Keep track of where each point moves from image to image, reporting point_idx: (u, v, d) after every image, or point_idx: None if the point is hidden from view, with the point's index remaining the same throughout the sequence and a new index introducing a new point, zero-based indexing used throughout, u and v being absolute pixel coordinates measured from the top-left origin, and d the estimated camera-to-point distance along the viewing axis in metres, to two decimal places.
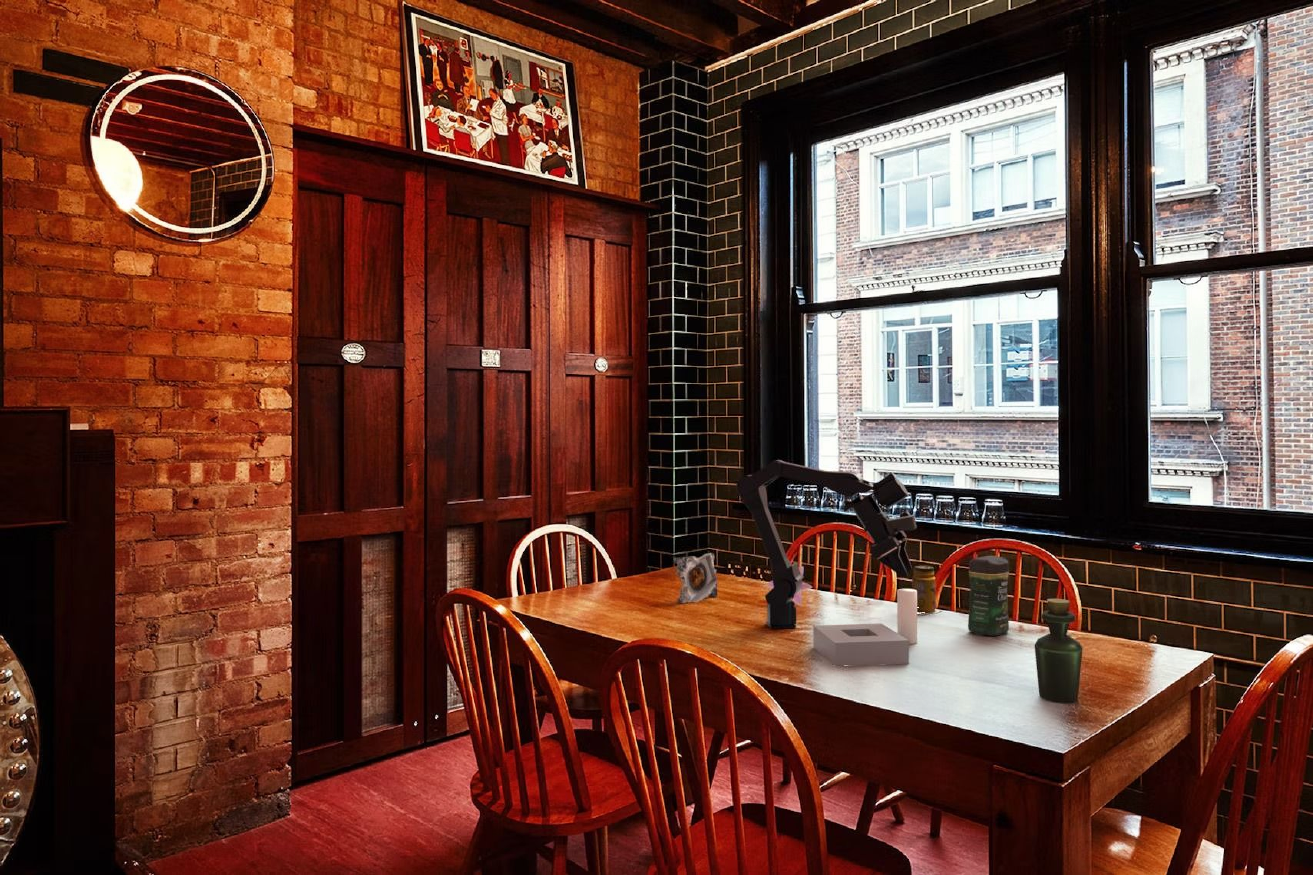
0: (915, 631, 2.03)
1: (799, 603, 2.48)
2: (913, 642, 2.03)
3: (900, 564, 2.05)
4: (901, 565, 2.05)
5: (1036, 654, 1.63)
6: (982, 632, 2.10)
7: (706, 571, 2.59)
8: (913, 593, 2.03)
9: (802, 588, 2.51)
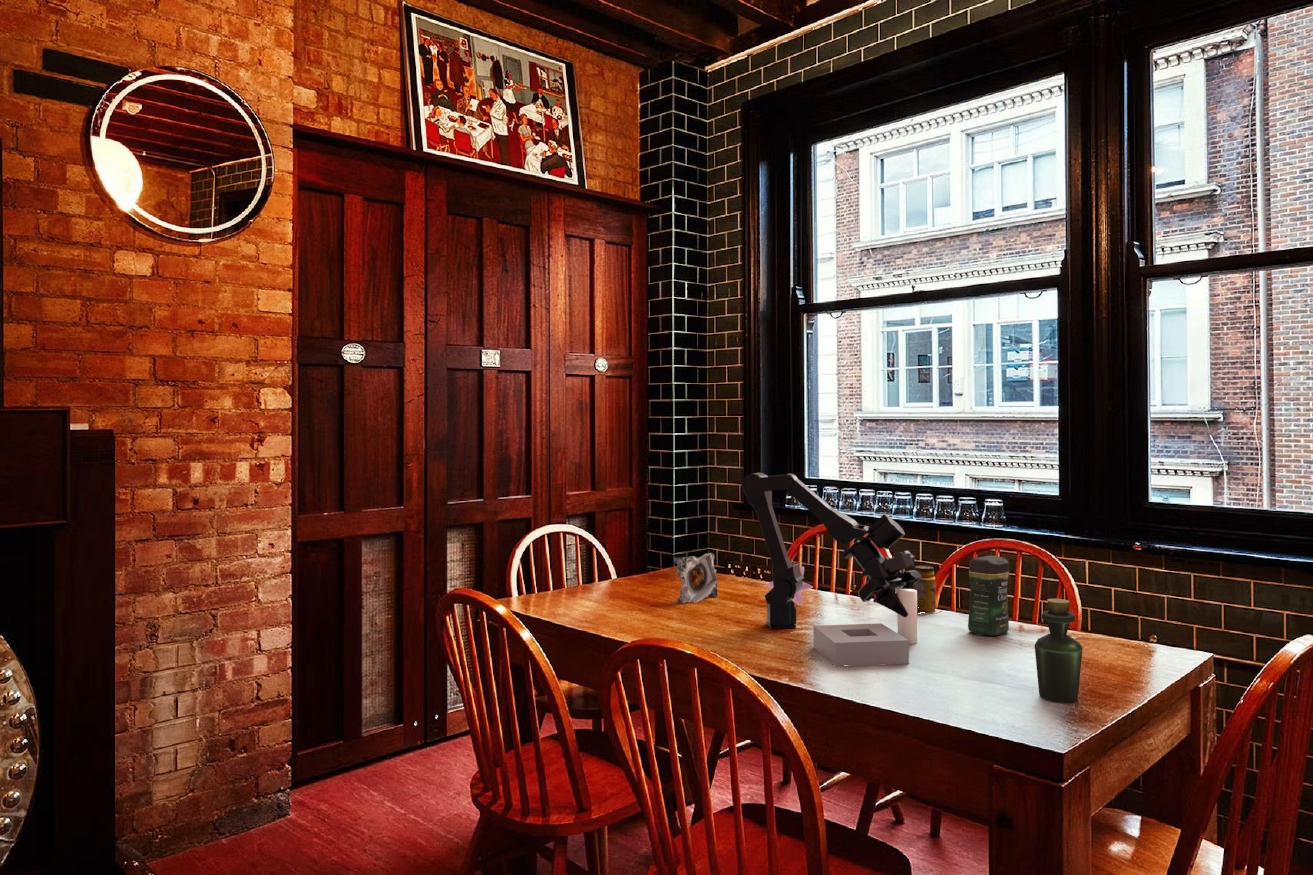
0: (915, 631, 2.03)
1: (800, 603, 2.47)
2: (913, 642, 2.03)
3: (897, 603, 2.03)
4: (898, 604, 2.03)
5: (1036, 654, 1.63)
6: (982, 632, 2.10)
7: (706, 571, 2.59)
8: (913, 593, 2.03)
9: (803, 588, 2.50)
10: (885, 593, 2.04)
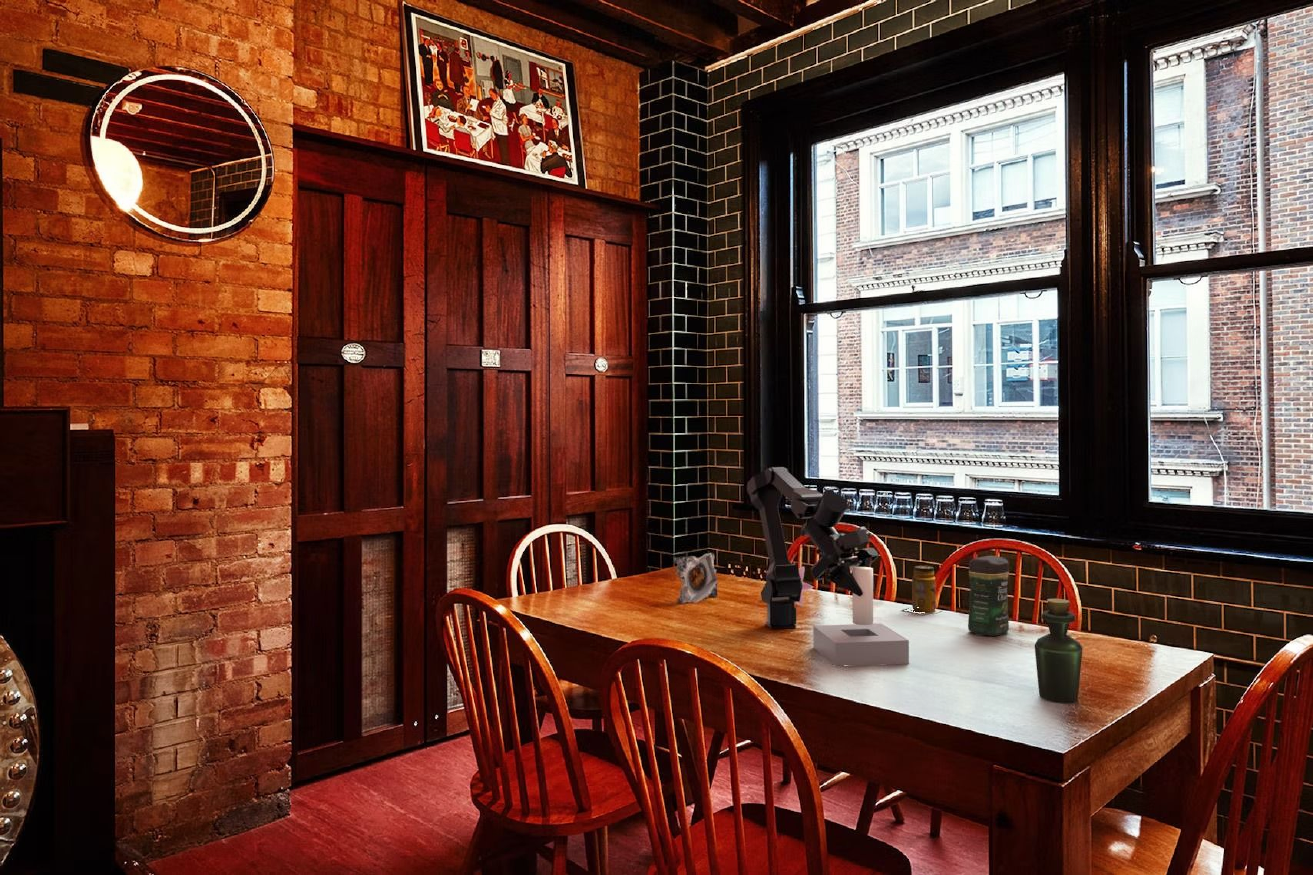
0: (871, 611, 1.92)
1: (800, 603, 2.47)
2: (869, 623, 1.92)
3: (851, 582, 1.92)
4: (852, 582, 1.92)
5: (1036, 654, 1.63)
6: (982, 632, 2.10)
7: (706, 571, 2.59)
8: (869, 571, 1.92)
9: (803, 588, 2.50)
10: (839, 571, 1.93)
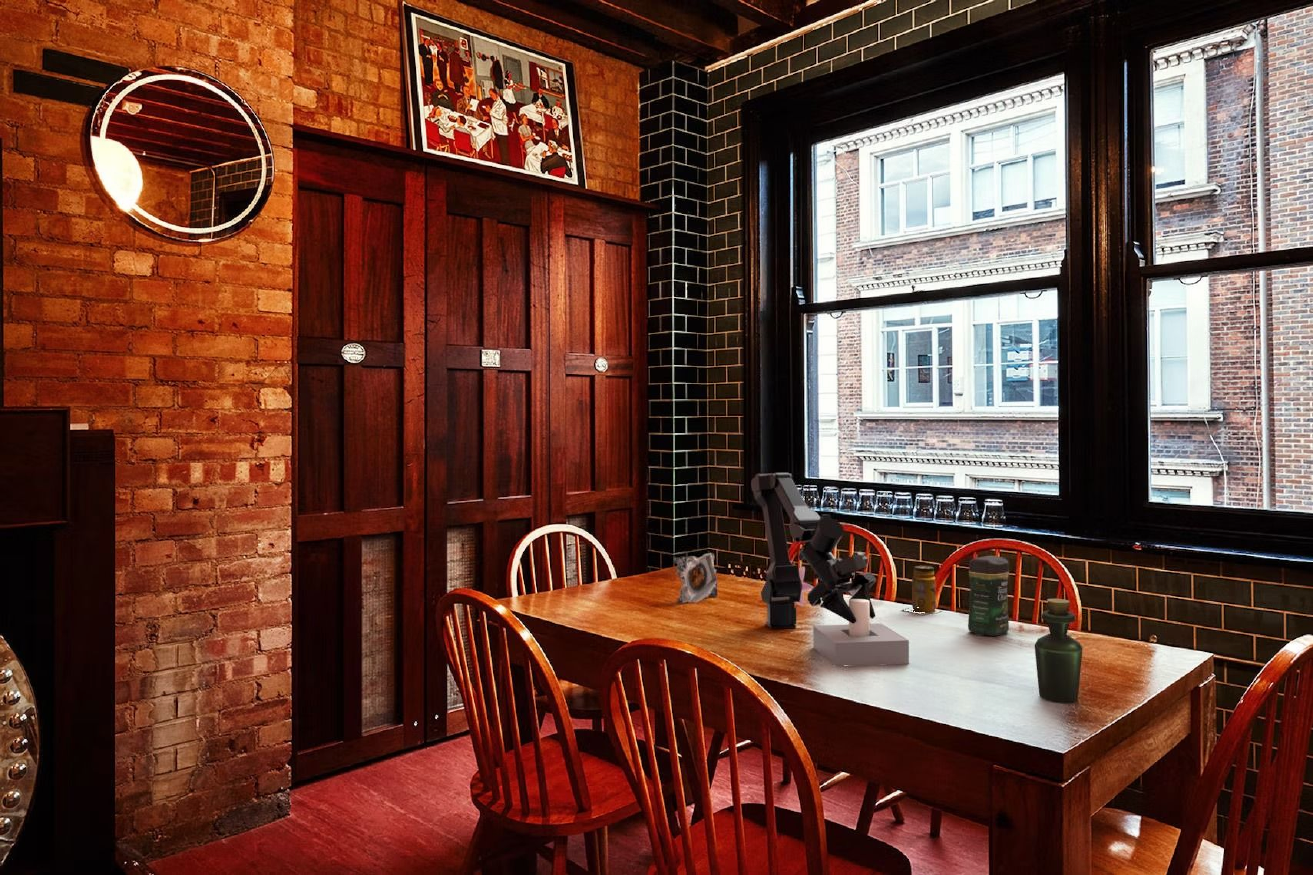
0: None
1: (801, 604, 2.47)
2: None
3: (844, 608, 1.90)
4: (846, 609, 1.90)
5: (1036, 654, 1.63)
6: (982, 632, 2.10)
7: (706, 571, 2.59)
8: (865, 604, 1.91)
9: (804, 588, 2.50)
10: (832, 598, 1.91)
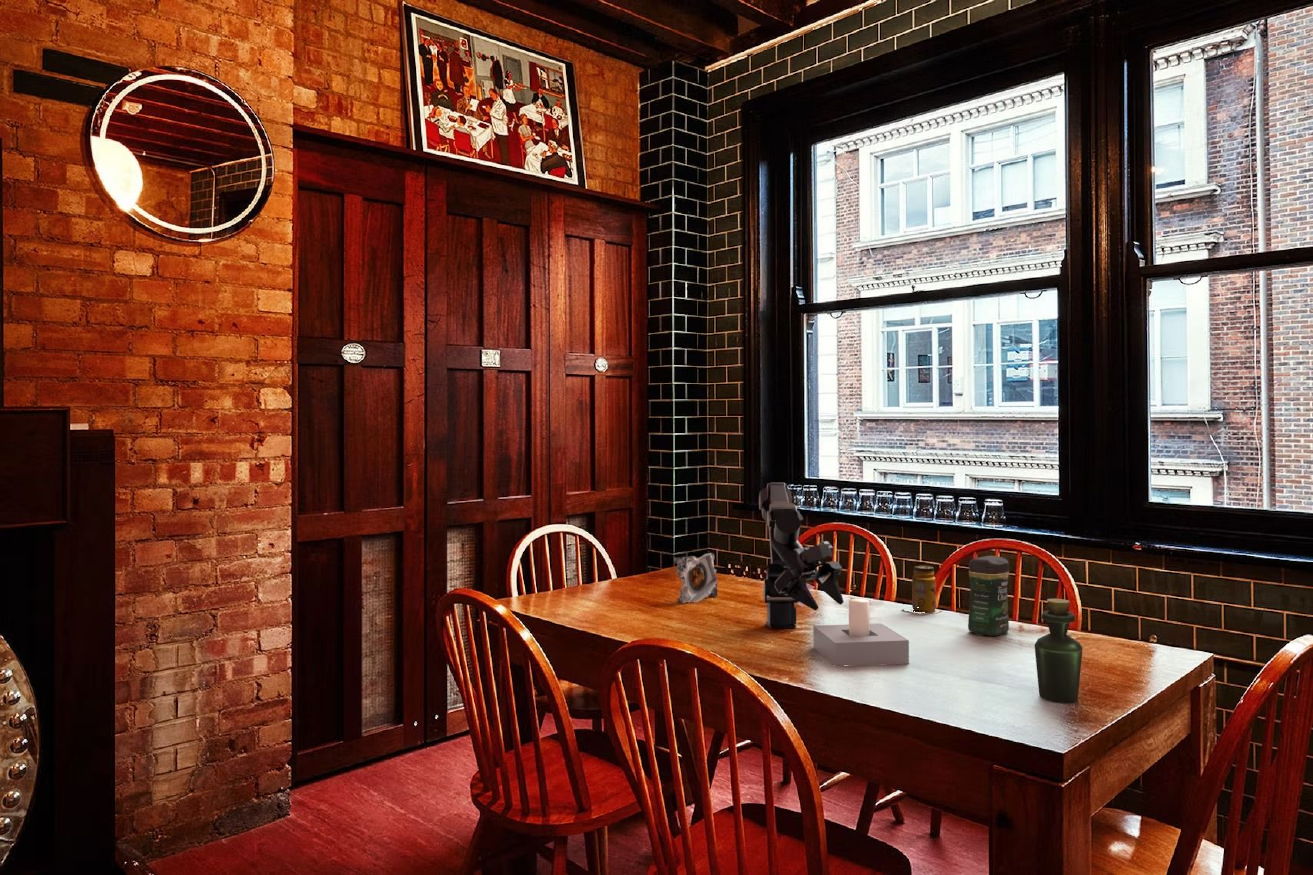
0: None
1: (801, 604, 2.47)
2: None
3: (807, 596, 1.97)
4: (808, 597, 1.97)
5: (1036, 654, 1.63)
6: (982, 632, 2.10)
7: (706, 571, 2.59)
8: (865, 604, 1.91)
9: None
10: (795, 586, 1.98)
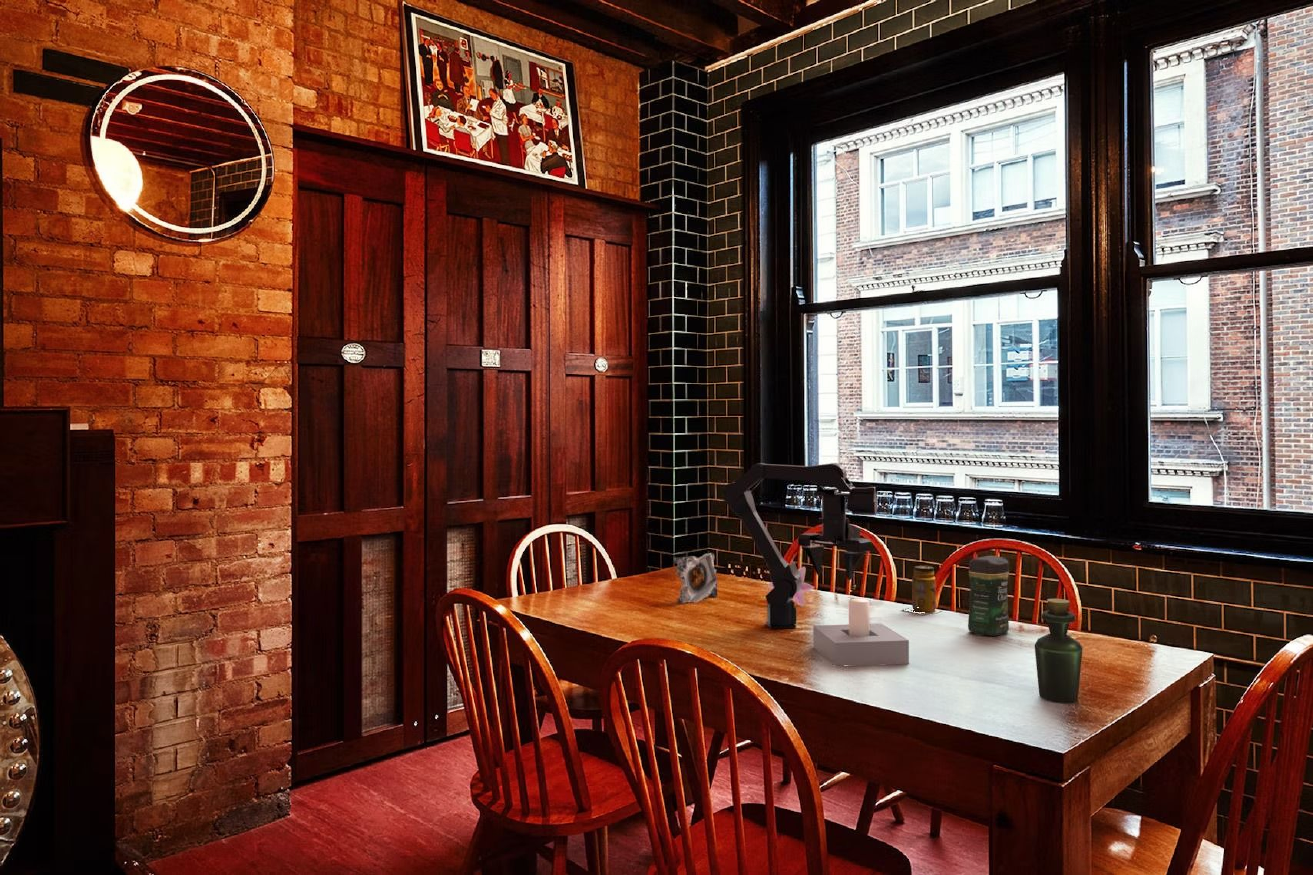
0: None
1: (802, 604, 2.46)
2: None
3: (855, 566, 2.13)
4: (854, 567, 2.13)
5: (1036, 654, 1.63)
6: (982, 632, 2.10)
7: (706, 571, 2.59)
8: (865, 604, 1.91)
9: (804, 589, 2.49)
10: None
